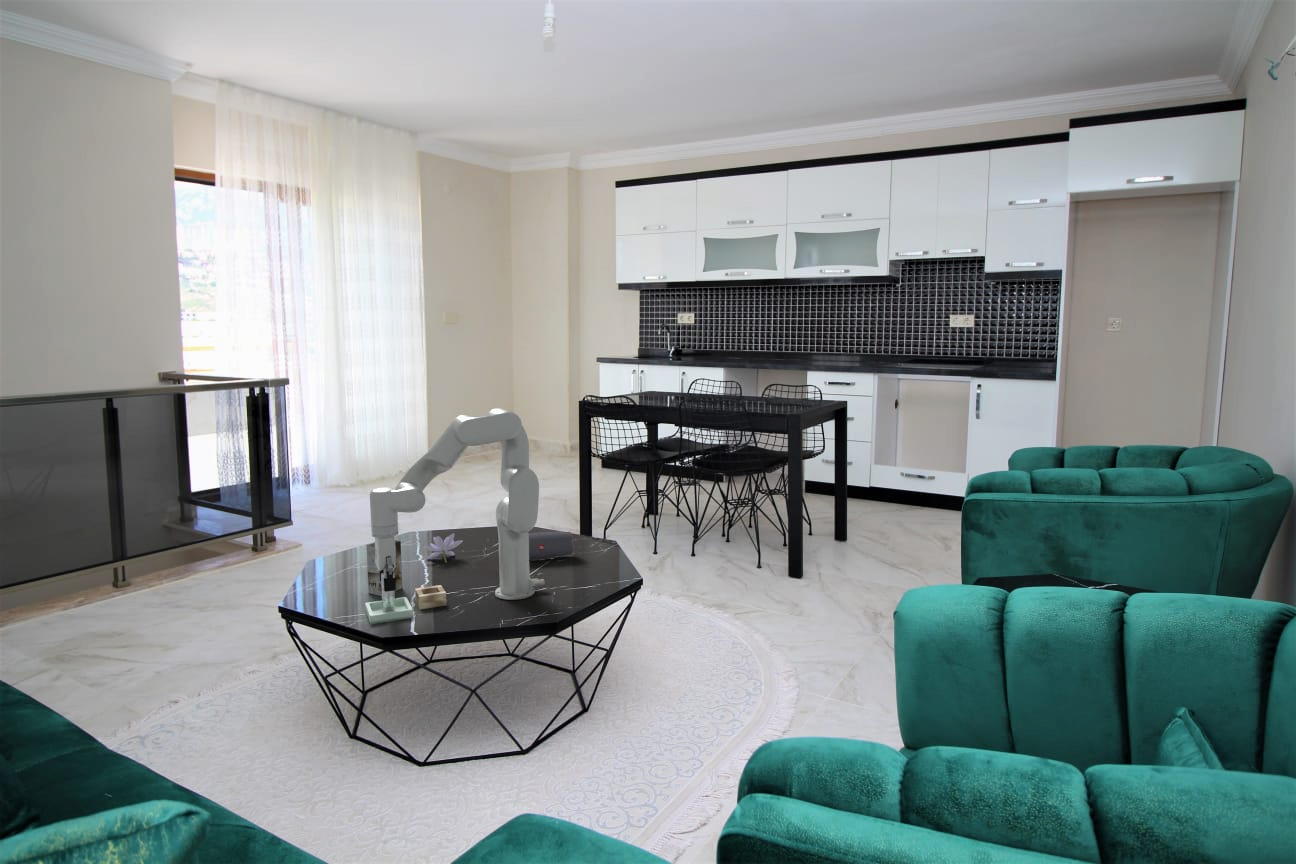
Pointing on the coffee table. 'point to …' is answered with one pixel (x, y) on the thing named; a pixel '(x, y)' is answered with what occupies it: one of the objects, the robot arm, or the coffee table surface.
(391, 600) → the pin
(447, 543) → the water lily
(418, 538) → the coffee table surface
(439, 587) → the socket block
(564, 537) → the bluetooth speaker
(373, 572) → the brown cookie box
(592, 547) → the coffee table surface
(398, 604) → the tray
